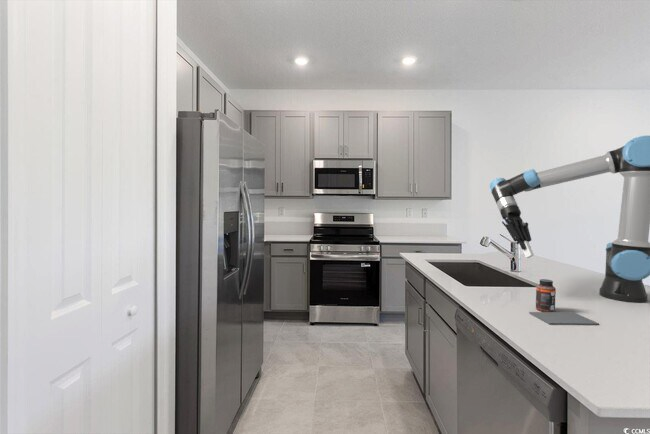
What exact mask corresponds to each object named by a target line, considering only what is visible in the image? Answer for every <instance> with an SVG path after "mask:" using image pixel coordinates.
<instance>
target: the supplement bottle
mask: <svg viewBox="0 0 650 434" xmlns="http://www.w3.org/2000/svg"><path fill="white" fill-rule="evenodd" d="M553 283H554V281H553V280H551V279H546V278H544V279H543V278H542V279H539V284H537V285H536V288H535V289H536V291H535V309H536V310H537V311H538V312H556V311H555V310H556V290H557V289H556V286H554V285H553Z"/></svg>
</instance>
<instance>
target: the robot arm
mask: <svg viewBox="0 0 650 434" xmlns="http://www.w3.org/2000/svg"><path fill="white" fill-rule="evenodd" d="M607 173H611V174H618V173H619V174H620V175H621V176H622V177H623V187H622V196H621V204H620V205H621V206H620V213H619V222H618V223H619V224H618V231H617V232H618V234H617V239H615V240H613V241H612V242H608V243H607V244H606V248H605V252H606V253H605V275H604V279H603V281H602V283H601V285H600V288H599V292H598V294H599V295H600V296H601V297H604V298H607V299H610V300H611V299H612V300H615V301H623V302H629V303H647V302H648V300H649V298H648V297H649V296H648V294H647V291H646V288H645V285H644V283H643V280H644V279H646V278H649V276H650V242H649V235H650V135H641V136H638V137H637V136H636V137H634V138H632V139H630V140H629V141H628V142H626V144H624V145H623V146H621V147H619V148H616V149H613V150H610V151H607V152H606V153H605V154H603V155H599V156H595V157H593V158H588V159H585V160H581V161H576V162H572V163H568V164H564V165H561V166H556V167H553V168H552V167H551V168H549V169H545V170H541V171H537V172H536V170H535V169H534V168H532V169H529V170H526V171H524V172H521V173H520V174H518V175H515V176H514V177H511V178H509V179H506V178H504V177H499V178H496V179H493V180H491V182H490V183H489V189H490V191H491V194H492V196H493V199H494V201H495V203H496V205H497V208H498V210H499V212H500V216H501V218H502V219H503V220H502V221H501V223H502V225H503V226H504V227H505V229H506V230H507V232H508V233H509V235H510V236H511V238H512V240H513V241H514V242H515V243H516V245H519V246H520V248H521V249H522V252H523V254H524V256H525V258H526V259H529V258H531V257H533V256H534V257H535V253H534V252H533V249H532V248H531V247H532V246H531V245H530V242H531V241H532V237H531V232H530V229H529V223H528V222H524V221H523V219H522V218H521V214H522V212H521V210H520V207H519V205H518V203H517V201H516V199H515V197H514V196H515V195H518V194H520V193H522V192H530V191H534V190H537V189H542V188H545V187H549V186H554V185H560V184H563V183H568V182H572V181H575V180H581V179H584V178H591V177H594V176H599V175H602V174H607ZM646 301H647V302H646Z"/></svg>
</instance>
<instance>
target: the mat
mask: <svg viewBox="0 0 650 434" xmlns="http://www.w3.org/2000/svg"><path fill="white" fill-rule="evenodd" d="M528 313H529V315H532V316H534V317H535V318H537V319H539V320H541V321H542V322H544V323H545V324H548V325H551V326H552V325H553V326H555V325H557V326H559V325H560V326H561V325H563V326H567V325H568V326H569V325H570V326H599V325H600V323H598V322H597V321H594V320H592V319H590V318H588V317H585V316H583V315H581V314H580V313H577V312H571V311H570V312H569V311H565V312H564V311H560V312H559V311H554V312H542V311H529V312H528Z"/></svg>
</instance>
